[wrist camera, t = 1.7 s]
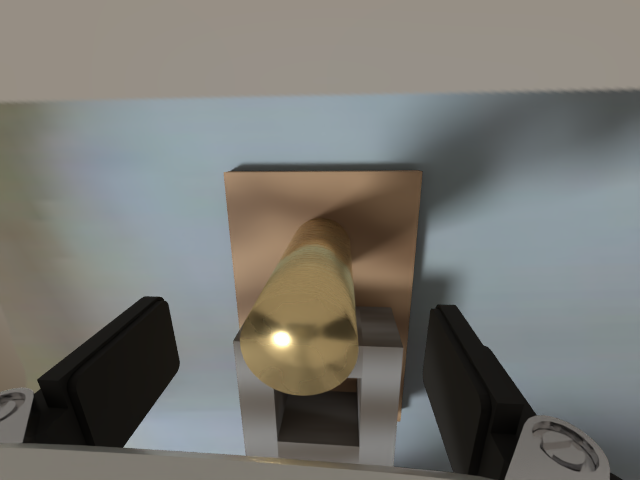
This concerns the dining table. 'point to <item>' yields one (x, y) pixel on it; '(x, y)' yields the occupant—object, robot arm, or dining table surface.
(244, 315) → the socket board
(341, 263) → the peg
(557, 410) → the dining table surface
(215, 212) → the dining table surface
